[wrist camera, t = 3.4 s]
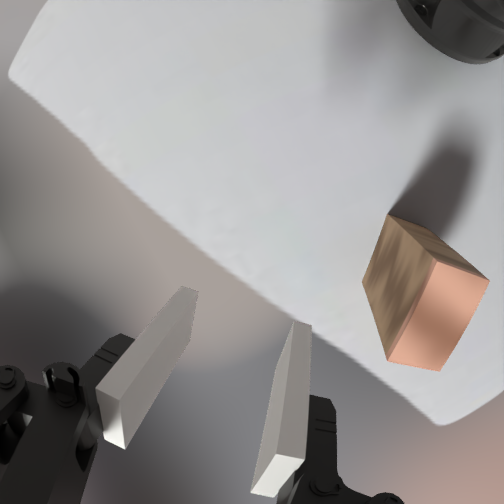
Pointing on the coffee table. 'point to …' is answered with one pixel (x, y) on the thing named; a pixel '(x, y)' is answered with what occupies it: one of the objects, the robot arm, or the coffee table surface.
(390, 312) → the light brown wooden block
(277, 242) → the coffee table surface
